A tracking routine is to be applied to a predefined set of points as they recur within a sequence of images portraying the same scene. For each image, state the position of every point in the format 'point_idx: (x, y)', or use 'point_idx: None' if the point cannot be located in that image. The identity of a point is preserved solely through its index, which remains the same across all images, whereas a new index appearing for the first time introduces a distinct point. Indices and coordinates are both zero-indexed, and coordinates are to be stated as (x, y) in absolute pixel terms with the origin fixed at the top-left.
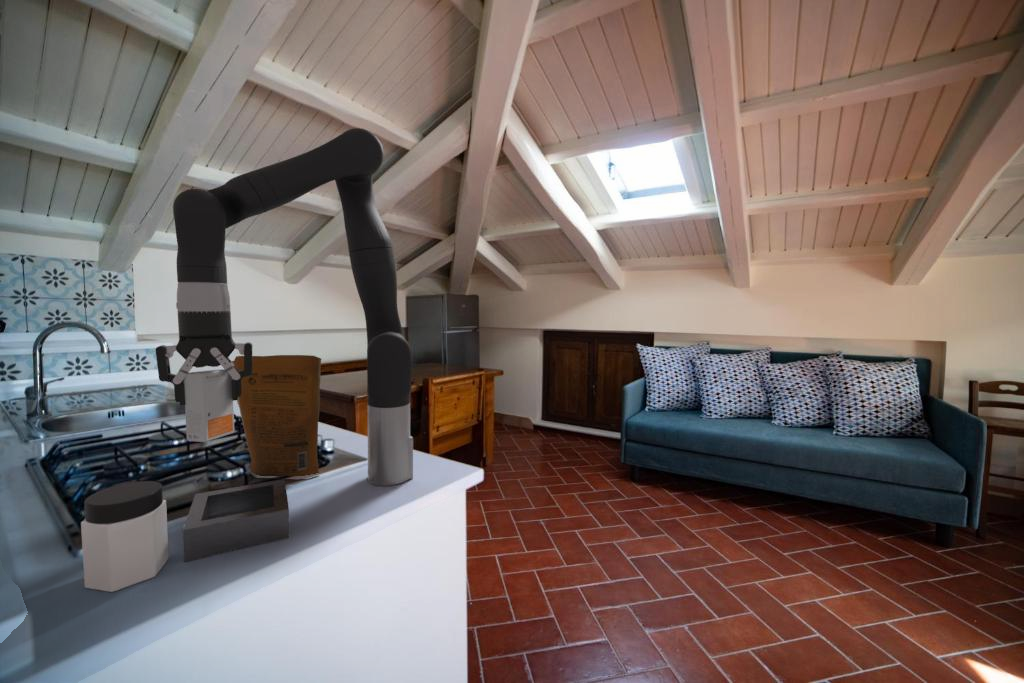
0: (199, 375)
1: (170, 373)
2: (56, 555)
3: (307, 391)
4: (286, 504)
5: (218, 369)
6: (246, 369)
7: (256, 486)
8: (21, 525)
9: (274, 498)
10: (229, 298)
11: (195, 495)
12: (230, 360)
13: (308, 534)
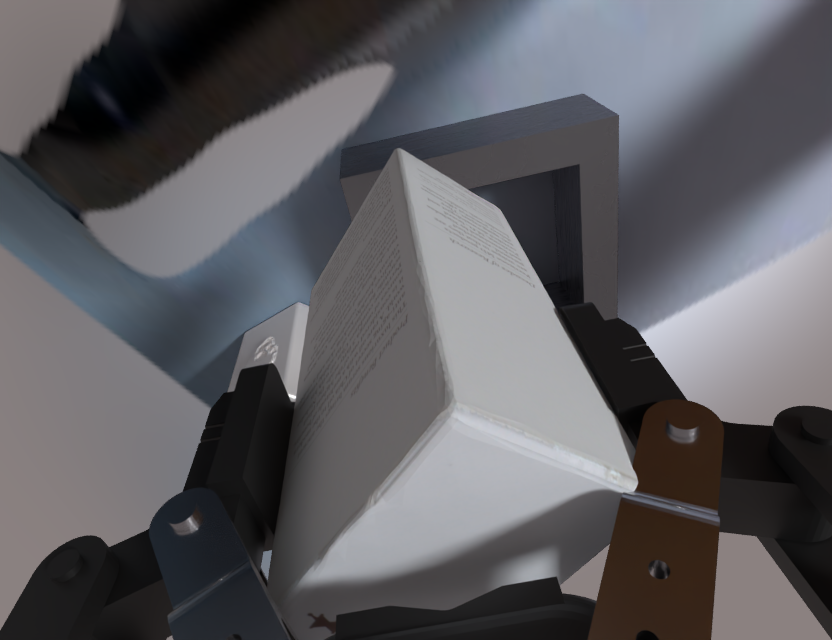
0: None
1: (97, 592)
2: (82, 253)
3: None
4: (613, 316)
5: (523, 491)
6: (799, 557)
7: (526, 165)
8: None
9: (584, 274)
10: None
11: (345, 192)
12: (712, 587)
13: (628, 293)
